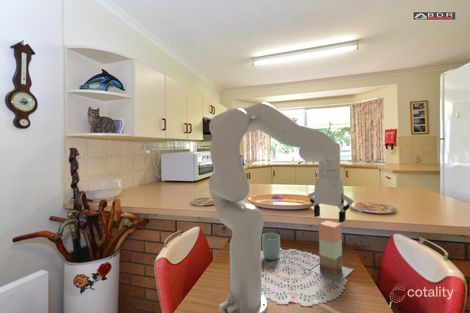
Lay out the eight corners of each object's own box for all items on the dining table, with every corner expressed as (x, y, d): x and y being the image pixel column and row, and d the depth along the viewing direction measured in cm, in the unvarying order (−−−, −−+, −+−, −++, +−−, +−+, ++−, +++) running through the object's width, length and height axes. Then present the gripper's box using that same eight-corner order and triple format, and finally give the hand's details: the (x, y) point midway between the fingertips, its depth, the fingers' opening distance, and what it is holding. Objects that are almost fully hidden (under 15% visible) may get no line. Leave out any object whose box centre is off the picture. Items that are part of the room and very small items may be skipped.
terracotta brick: (334, 243, 81) (334, 227, 81) (319, 239, 86) (318, 223, 86) (341, 239, 85) (341, 223, 85) (326, 235, 90) (326, 220, 90)
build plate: (339, 284, 77) (339, 281, 77) (308, 271, 86) (308, 268, 86) (353, 272, 85) (353, 269, 85) (323, 261, 94) (323, 258, 94)
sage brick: (334, 259, 82) (334, 243, 81) (319, 254, 86) (319, 239, 86) (341, 254, 86) (341, 239, 85) (326, 249, 90) (326, 235, 90)
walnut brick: (335, 275, 82) (334, 259, 82) (319, 269, 86) (319, 254, 86) (342, 269, 86) (341, 254, 86) (327, 264, 90) (326, 249, 90)
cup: (280, 263, 93) (279, 239, 93) (261, 261, 95) (261, 238, 95) (280, 254, 101) (279, 233, 101) (263, 253, 103) (262, 232, 102)
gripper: (303, 173, 89) (303, 216, 89) (348, 176, 76) (348, 226, 76) (313, 172, 94) (313, 212, 94) (357, 175, 81) (356, 222, 81)
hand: (328, 218), depth 85 cm, fingers open, 9 cm apart
